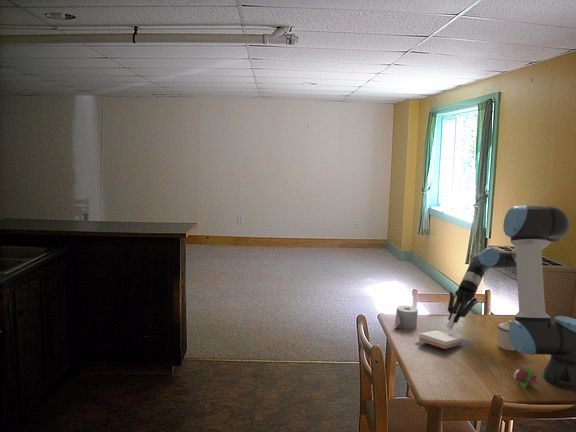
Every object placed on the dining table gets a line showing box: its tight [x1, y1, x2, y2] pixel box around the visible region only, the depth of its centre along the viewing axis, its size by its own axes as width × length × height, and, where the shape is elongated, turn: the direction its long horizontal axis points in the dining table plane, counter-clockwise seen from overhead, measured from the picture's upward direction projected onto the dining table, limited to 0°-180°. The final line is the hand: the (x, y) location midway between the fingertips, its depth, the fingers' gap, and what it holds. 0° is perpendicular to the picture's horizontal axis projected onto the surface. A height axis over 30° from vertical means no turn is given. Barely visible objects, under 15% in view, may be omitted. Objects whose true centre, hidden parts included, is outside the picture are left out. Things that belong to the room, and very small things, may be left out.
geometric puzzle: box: [513, 366, 538, 390], centre depth 177 cm, size 7×7×8 cm
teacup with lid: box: [496, 319, 517, 352], centre depth 214 cm, size 12×9×12 cm
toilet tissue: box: [394, 305, 419, 330], centre depth 233 cm, size 9×13×9 cm
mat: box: [414, 338, 473, 356], centre depth 215 cm, size 22×16×1 cm
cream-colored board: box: [418, 330, 463, 349], centre depth 212 cm, size 3×12×14 cm
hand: (449, 327), depth 217 cm, fingers closed
